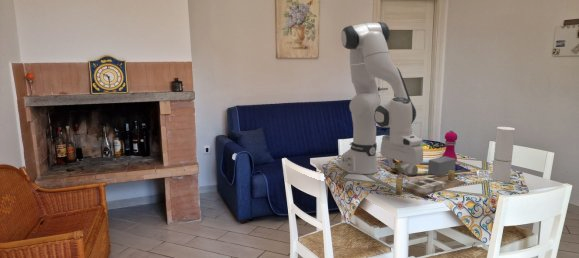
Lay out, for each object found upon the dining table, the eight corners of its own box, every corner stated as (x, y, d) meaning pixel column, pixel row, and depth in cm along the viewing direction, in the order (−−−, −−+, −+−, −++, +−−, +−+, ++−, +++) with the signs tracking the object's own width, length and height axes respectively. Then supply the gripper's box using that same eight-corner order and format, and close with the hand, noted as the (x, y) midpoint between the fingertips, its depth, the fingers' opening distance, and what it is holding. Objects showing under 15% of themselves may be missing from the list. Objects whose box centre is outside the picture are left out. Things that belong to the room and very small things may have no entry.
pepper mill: (457, 169, 204) (460, 130, 200) (442, 168, 205) (445, 130, 201) (454, 165, 211) (457, 127, 207) (440, 164, 212) (442, 127, 208)
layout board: (402, 190, 175) (403, 176, 174) (444, 178, 190) (445, 166, 188) (425, 198, 165) (426, 184, 164) (467, 186, 180) (468, 173, 178)
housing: (427, 176, 194) (428, 159, 192) (443, 171, 200) (445, 156, 199) (438, 179, 189) (439, 162, 187) (454, 175, 195) (455, 159, 194)
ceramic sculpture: (404, 161, 187) (388, 155, 201) (403, 180, 188) (387, 172, 202) (424, 160, 189) (407, 154, 204) (424, 178, 191) (407, 171, 205)
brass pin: (394, 193, 171) (395, 177, 170) (398, 192, 173) (399, 176, 171) (399, 195, 169) (399, 179, 168) (403, 193, 170) (404, 178, 169)
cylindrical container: (507, 180, 187) (513, 127, 182) (510, 185, 180) (516, 130, 175) (490, 179, 189) (495, 126, 184) (492, 183, 182) (498, 129, 177)
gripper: (377, 135, 173) (377, 166, 175) (414, 142, 156) (414, 177, 158) (387, 133, 176) (387, 163, 179) (426, 140, 159) (425, 174, 161)
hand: (400, 170), depth 168 cm, fingers open, 8 cm apart
